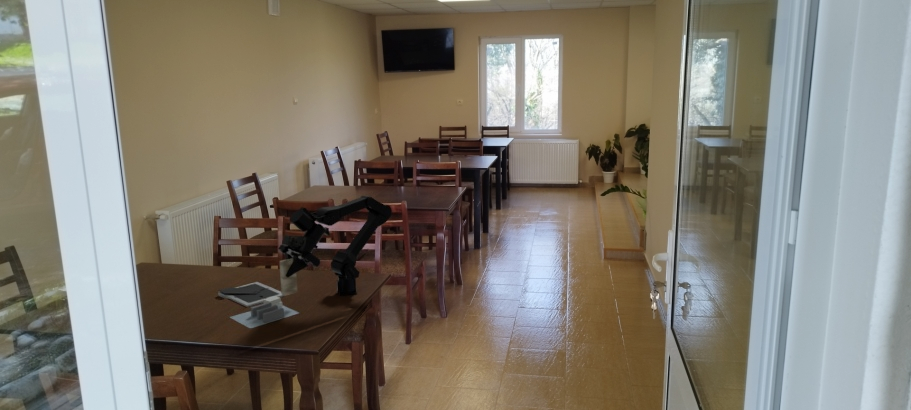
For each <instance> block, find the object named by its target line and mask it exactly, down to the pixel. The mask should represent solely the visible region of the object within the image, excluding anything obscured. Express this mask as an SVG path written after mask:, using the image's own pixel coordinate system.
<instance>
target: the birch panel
mask: <svg viewBox="0 0 911 410" xmlns="http://www.w3.org/2000/svg"><path fill="white" fill-rule="evenodd" d="M292 263H293V258H291V259H286V258H285V259H282V260H279V275H280V291H281V294H282V295H284V296H283V297H286V296H289V295H292V294H297V293H298V279H297V278H298V277H297V276H298V275H297V272H296V273H295V274H293V275H291V276H290V277H286V274H287V272H288V270H289V268H290V266H291V265H292Z"/></svg>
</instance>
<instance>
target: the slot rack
mask: <svg viewBox="0 0 911 410" xmlns="http://www.w3.org/2000/svg"><path fill="white" fill-rule="evenodd" d="M298 314H299V312H298V311H297V310H295V309H292V308H290V307H287V306H285V305H283V306H282V307H278V306H277V305H274V306H272V304H271V303H270V302H268V303H265V304H263V303H260V304H257V305H253V306H250V311H247V312H242V313H239V314H235V315H233V316H229V318H230V319H232V320H233V321H236V322H237V323H239V324H241V325H242V326H244V327H246V328H248V329H254V328H256V327H259V326H263V325H266V324H268V323H269V324H270V323H272V322H275V321H279V320H281V319H286V318H288V317H292V316H295V315H298Z"/></svg>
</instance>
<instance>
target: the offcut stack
mask: <svg viewBox="0 0 911 410" xmlns="http://www.w3.org/2000/svg"><path fill="white" fill-rule="evenodd" d="M268 302H270V303H271V304H272V306H274V305H277V306H278V307H282V306H284V304H283V301H282V297H276V296H272V297H269V298H266V299H263V303H262V304H265V303H268Z"/></svg>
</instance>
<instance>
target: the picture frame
mask: <svg viewBox="0 0 911 410" xmlns="http://www.w3.org/2000/svg"><path fill="white" fill-rule="evenodd" d="M217 291H218V293H217V294H218V297H220V298H222V299H225V300H226V299H229V300H231V301H233V302H235V303H237V304H239V305H242V306H244V307H246V308H249V307H253V306H257V305H260V304H263V299H266V298H269V297H272V296H276V297H280V298H283V297H285V296H284V295H282V294H281V290H278V289H275V288H273V287H271V286H269V285H267V284H263V283H261V282H258V281H255V282H252V283H248V284H244V285H240V286H237V287H232V286H230V287H226V288H222V289H218V290H217Z"/></svg>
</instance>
